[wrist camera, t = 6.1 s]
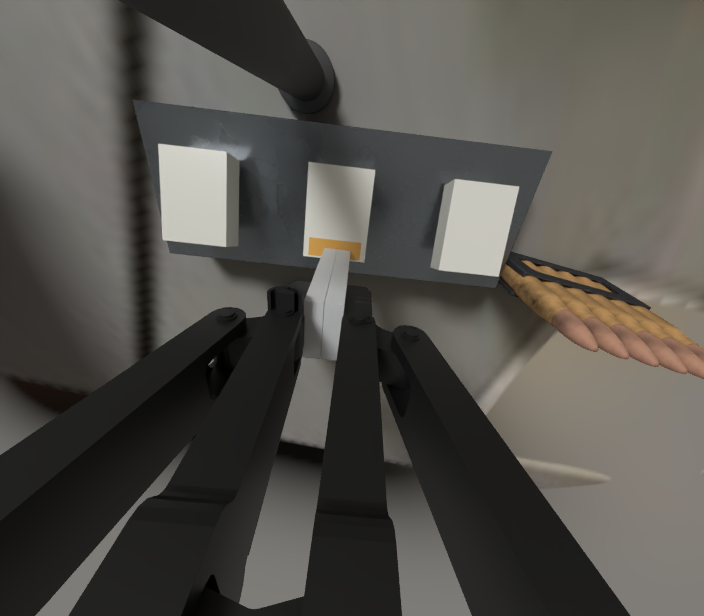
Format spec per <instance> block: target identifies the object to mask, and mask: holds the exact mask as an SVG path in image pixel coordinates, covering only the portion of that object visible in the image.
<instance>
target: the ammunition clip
mask: <svg viewBox="0 0 704 616" xmlns="http://www.w3.org/2000/svg"><path fill="white" fill-rule="evenodd" d="M498 282H499V283H500V284H501V285H502V286H503V287H504V288H505V289H506V290H507V291H508V292H509V293H510V294H511V295H513V296H516V297H520V298H521V299H522V300H523V301H524V302H525V303H526V304H527V305H528V306H529V307H530V308H531V309H532V310H533V311H534V312H535V313H536V314H537V315H539V316H540V317H542V318H544V319H545V320H546V321H548V322H549V323H550V324H551V325H552V326H554V327H555V328H556V329H557V330H558V331H559V332H560V333H562V334H563V335H564V336H565V337H567V338H568V339H569V340H571V341H572V342H574V343H575V344H577V345H579V346H581V347H583V348H585V349H587V350H590V351H594V352H596V351H598V347H599V348H600V349H602V350H604V351H605V352H607V353H609V354H611V355H613V356H616V357H618V358H622V359H628V358H629V356H630V357H632V358H633V359H635V360H638V361H640V362H642V363H644V364H647V365H650V366H654V367H658V366H659V365H661V366H663V367H665V368H667V369H669V370H672V371H675V372H678V373H682V374H686V373H687V372H688V373H690V374H692V375H695V376H697V377H700V378H702V379H704V349H703V348H702V347H700V346H699V345H698V344H697V343H695V342H694V341H692V340H691V339H689V338H688V337H686V336H685V335H684V334H683V333H682V332H681V331H680V330H679V329H678V328H677V327H675V326H674V325H672V324H670V323H669V322H667V321H666V320H664V319H663V318H661V317H659V316H658V315H656V314H654V313H653V312H651V311H650V308H651V307H649V306H648V305H646V304H645V303H643V302H641V301H640V300H638V299H636V298H635V297H633V296H631V295H630V294H628V293H626V292H625V291H623V290H621V289H620V288H618V287H616V286H615V285H613V284H611V283H610V282H608V281H607V280H605V279H603V278H601V277H598V276H594V275H591V274H587V273H584V272H580V271H577V270H573V269H570V268H566V267H563V266H559V265H556V264H552V263H549V262H545V261H542V260H538V259H535V258H531V257H528V256H524V255H521V254H517V253H514V252H510V254H509V257H508V259H507V261H506V264H505V266H504V269H503V271H502V273H501V276H500V278H499V281H498Z"/></svg>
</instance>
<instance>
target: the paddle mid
mask: <svg viewBox="0 0 704 616" xmlns="http://www.w3.org/2000/svg"><path fill="white" fill-rule="evenodd" d="M374 177H375V170H373V169H364V168H356V167H347V166H339V165H331V164H322V163H314V162H309V164H308V181H307V197H306V214H305V231H304V248H303V256H308V257H317V258H321V256H322V253H323V250H324V248H331V249H337V250H338V249H339V250H348V251H351V252H350V261H354V262H363V263H364V261H365V252H366V244H367V236H368V227H369V219H370V211H371V202H372V194H373V186H374Z"/></svg>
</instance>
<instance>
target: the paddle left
mask: <svg viewBox="0 0 704 616" xmlns="http://www.w3.org/2000/svg"><path fill="white" fill-rule="evenodd" d="M158 151H159V172H160V193H161V214H162V235H163V240H167V241H176V242H185V243H194V244H203V245H212V246H222V247H235V246H238V233H239V160H238V159H236V158H235V157H233V156H232V155H231V154H229V153H228V152H225V151H216V150H208V149H199V148H191V147H183V146H174V145H166V144H158Z"/></svg>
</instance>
